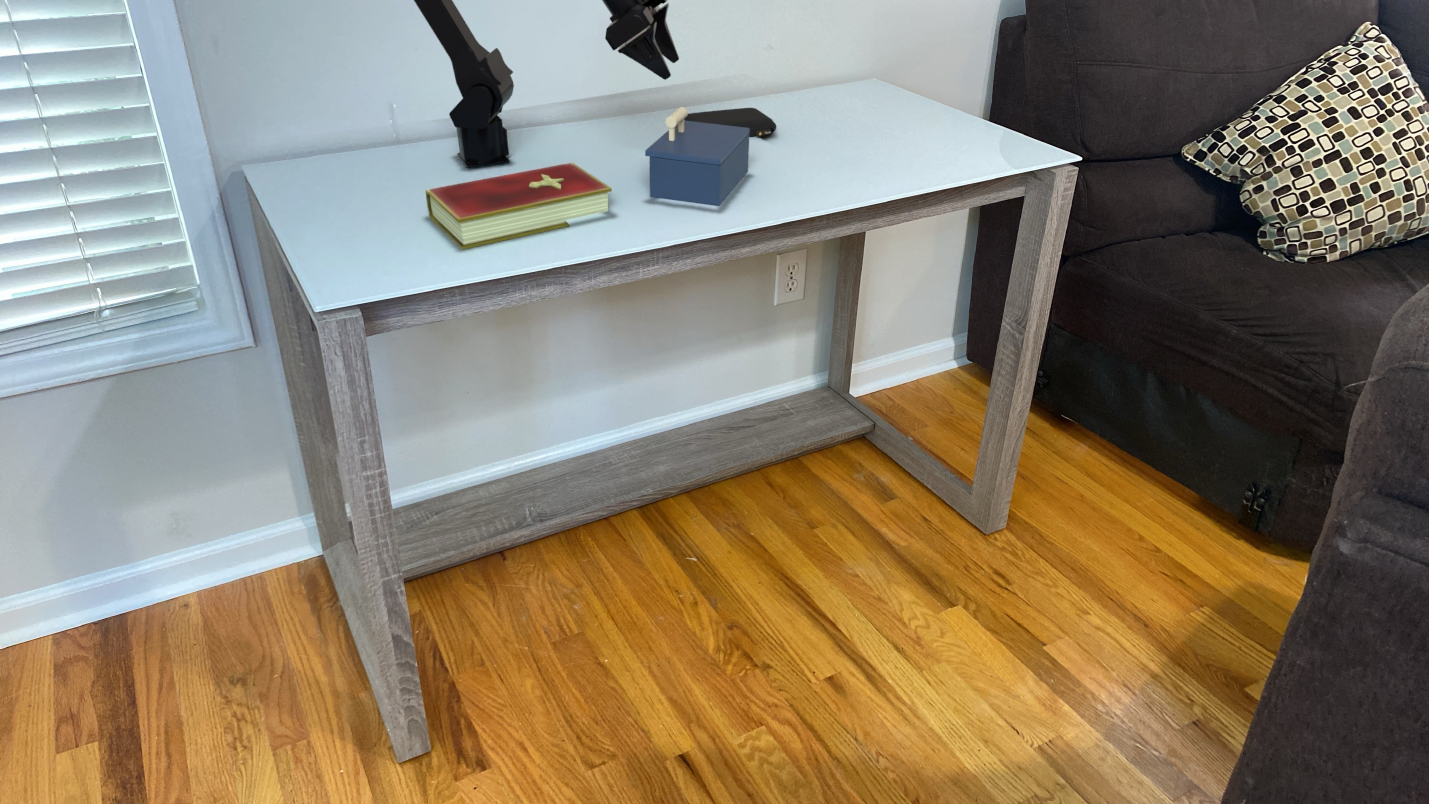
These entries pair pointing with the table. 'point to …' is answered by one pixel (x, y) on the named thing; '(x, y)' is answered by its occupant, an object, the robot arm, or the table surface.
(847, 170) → the table surface
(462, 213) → the hardcover book
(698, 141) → the lunchbox lid
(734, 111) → the carrying case
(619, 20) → the robot arm
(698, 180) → the box
